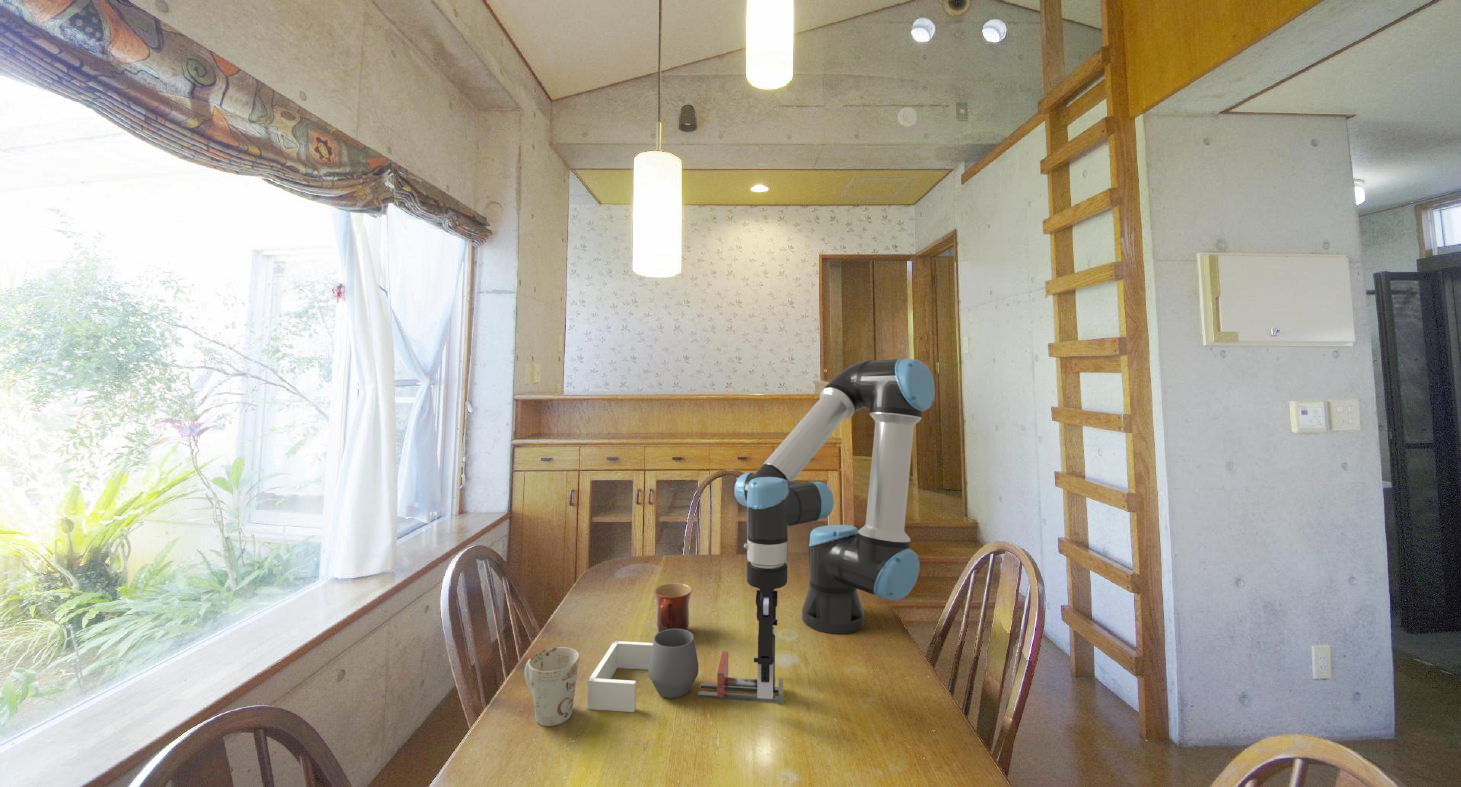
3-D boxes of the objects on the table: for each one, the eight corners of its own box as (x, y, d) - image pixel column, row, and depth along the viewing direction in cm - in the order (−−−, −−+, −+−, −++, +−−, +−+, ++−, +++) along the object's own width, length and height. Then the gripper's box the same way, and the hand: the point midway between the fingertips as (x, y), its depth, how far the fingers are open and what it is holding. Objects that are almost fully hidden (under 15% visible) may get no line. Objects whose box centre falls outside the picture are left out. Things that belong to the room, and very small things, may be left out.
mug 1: (550, 737, 86) (550, 676, 86) (502, 712, 93) (502, 655, 93) (588, 711, 93) (589, 654, 93) (542, 689, 100) (542, 636, 100)
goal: (654, 667, 108) (654, 643, 108) (634, 712, 93) (634, 683, 93) (614, 665, 109) (614, 640, 109) (587, 709, 94) (587, 681, 94)
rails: (782, 689, 100) (782, 678, 100) (782, 704, 95) (782, 693, 95) (701, 684, 102) (701, 673, 102) (697, 699, 97) (697, 688, 97)
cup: (643, 682, 102) (643, 631, 102) (688, 672, 106) (689, 623, 106) (656, 709, 94) (656, 653, 94) (705, 698, 97) (705, 644, 97)
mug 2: (661, 623, 128) (661, 581, 128) (696, 627, 126) (696, 584, 126) (643, 647, 116) (643, 601, 116) (681, 651, 114) (681, 604, 114)
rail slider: (775, 678, 102) (775, 626, 102) (774, 702, 94) (774, 646, 94) (722, 674, 103) (722, 623, 103) (717, 698, 95) (717, 643, 95)
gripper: (750, 542, 110) (750, 645, 111) (742, 585, 86) (741, 716, 86) (786, 543, 110) (785, 646, 110) (788, 587, 86) (787, 719, 86)
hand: (766, 677), depth 98 cm, fingers open, 12 cm apart
